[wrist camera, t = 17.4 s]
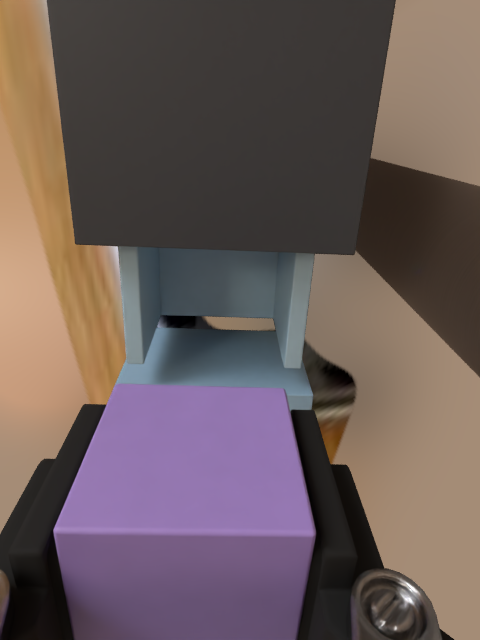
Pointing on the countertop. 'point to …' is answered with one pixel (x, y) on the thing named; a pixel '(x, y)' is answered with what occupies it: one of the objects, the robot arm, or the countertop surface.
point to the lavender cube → (188, 518)
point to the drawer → (220, 301)
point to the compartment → (219, 120)
